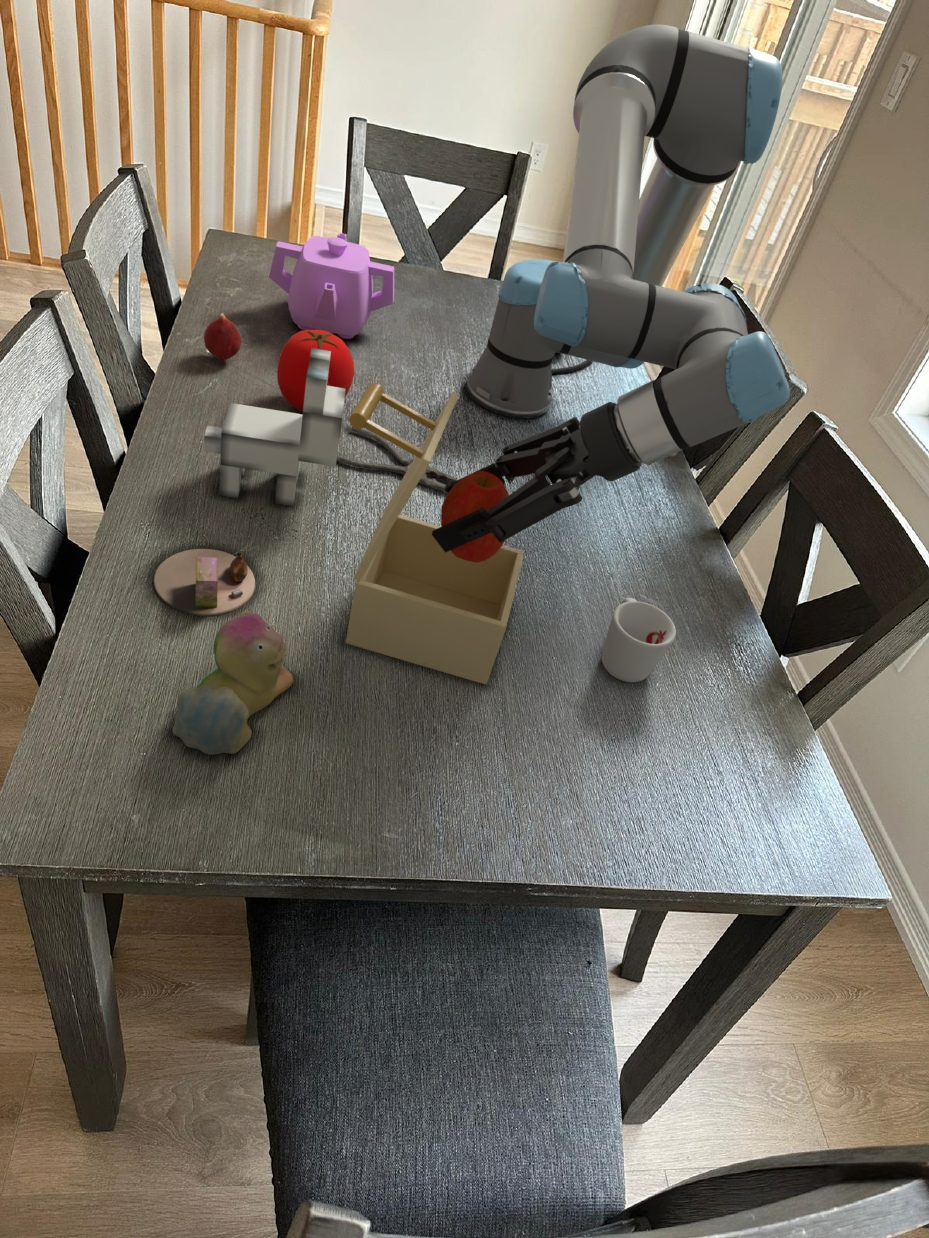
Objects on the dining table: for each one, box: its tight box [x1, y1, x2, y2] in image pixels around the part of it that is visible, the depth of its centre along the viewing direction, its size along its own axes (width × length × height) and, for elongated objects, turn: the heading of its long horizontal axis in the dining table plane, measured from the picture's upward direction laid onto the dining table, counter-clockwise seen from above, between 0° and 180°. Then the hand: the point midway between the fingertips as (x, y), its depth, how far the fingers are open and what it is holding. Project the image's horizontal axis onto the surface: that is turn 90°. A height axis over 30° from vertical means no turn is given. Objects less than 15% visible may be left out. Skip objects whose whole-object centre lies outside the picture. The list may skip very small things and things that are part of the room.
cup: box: [601, 597, 677, 683], centre depth 112 cm, size 11×8×8 cm
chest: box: [345, 513, 525, 686], centre depth 108 cm, size 18×15×10 cm
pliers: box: [337, 426, 458, 494], centre depth 136 cm, size 10×1×20 cm
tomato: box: [276, 329, 355, 413], centre depth 138 cm, size 12×12×13 cm
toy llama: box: [203, 348, 346, 507], centre depth 118 cm, size 8×18×20 cm, turn 92°
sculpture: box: [172, 610, 294, 756], centre depth 92 cm, size 15×8×10 cm, turn 164°
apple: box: [440, 470, 510, 563], centre depth 99 cm, size 8×8×11 cm
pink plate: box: [152, 548, 256, 617], centre depth 107 cm, size 12×12×4 cm
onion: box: [203, 312, 242, 362], centre depth 144 cm, size 6×6×8 cm
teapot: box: [268, 232, 395, 340], centre depth 159 cm, size 19×18×15 cm
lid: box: [348, 382, 460, 581], centre depth 98 cm, size 18×15×9 cm
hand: (445, 518), depth 100 cm, fingers closed on apple, 8 cm apart
